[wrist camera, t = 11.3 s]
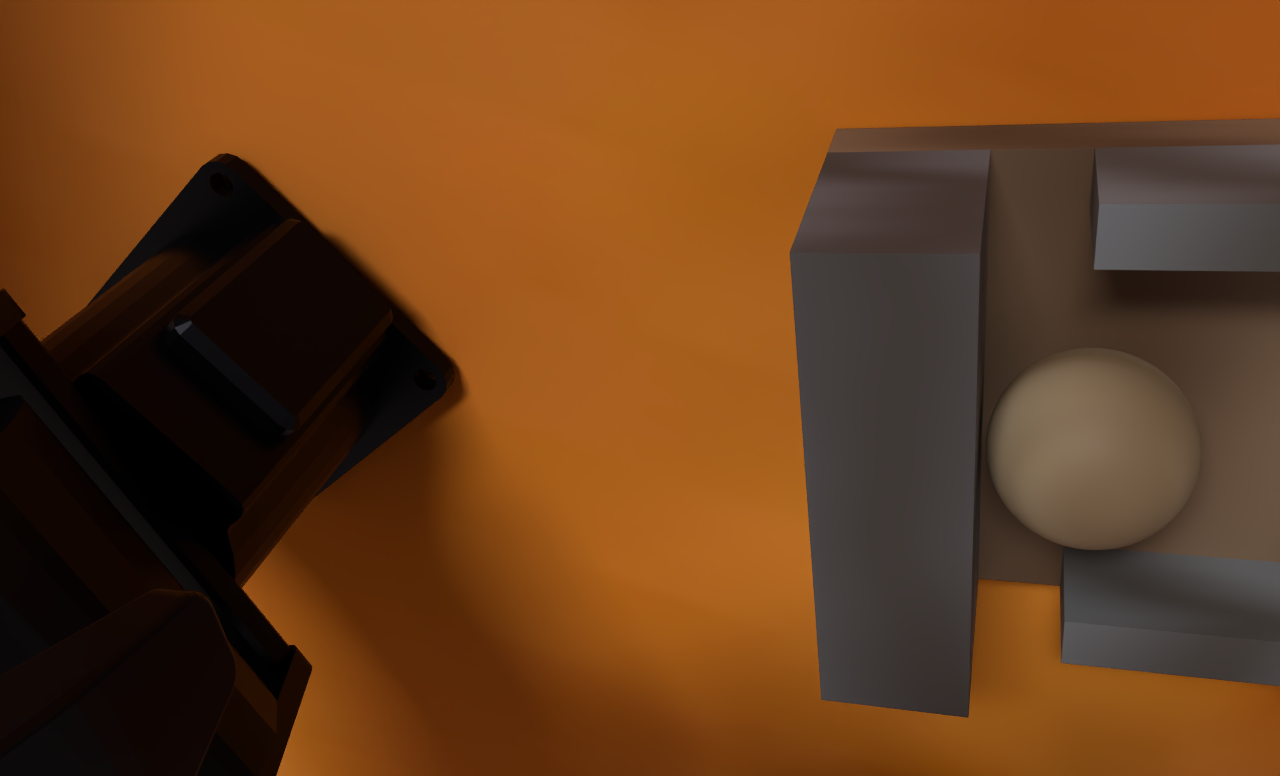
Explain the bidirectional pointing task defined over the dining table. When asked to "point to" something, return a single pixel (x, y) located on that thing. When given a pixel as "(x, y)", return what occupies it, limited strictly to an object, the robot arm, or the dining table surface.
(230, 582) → the robot arm
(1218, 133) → the press base
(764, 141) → the dining table surface
